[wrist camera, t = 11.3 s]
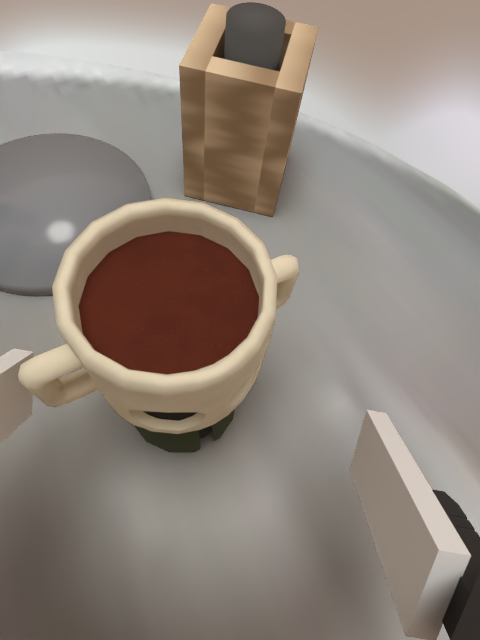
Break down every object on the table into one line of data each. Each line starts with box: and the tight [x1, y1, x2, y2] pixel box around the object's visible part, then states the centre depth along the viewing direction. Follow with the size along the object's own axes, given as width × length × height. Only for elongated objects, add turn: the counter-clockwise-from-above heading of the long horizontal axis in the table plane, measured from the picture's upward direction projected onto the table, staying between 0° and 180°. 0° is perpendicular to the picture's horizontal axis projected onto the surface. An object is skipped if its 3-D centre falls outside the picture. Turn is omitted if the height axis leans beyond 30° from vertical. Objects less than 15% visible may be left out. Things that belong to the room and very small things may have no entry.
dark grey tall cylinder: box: [224, 3, 286, 71], centre depth 27 cm, size 3×3×10 cm
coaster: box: [0, 134, 151, 296], centre depth 29 cm, size 14×14×1 cm
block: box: [179, 3, 318, 217], centre depth 29 cm, size 7×7×10 cm
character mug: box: [18, 198, 299, 452], centre depth 18 cm, size 11×7×13 cm, turn 119°
